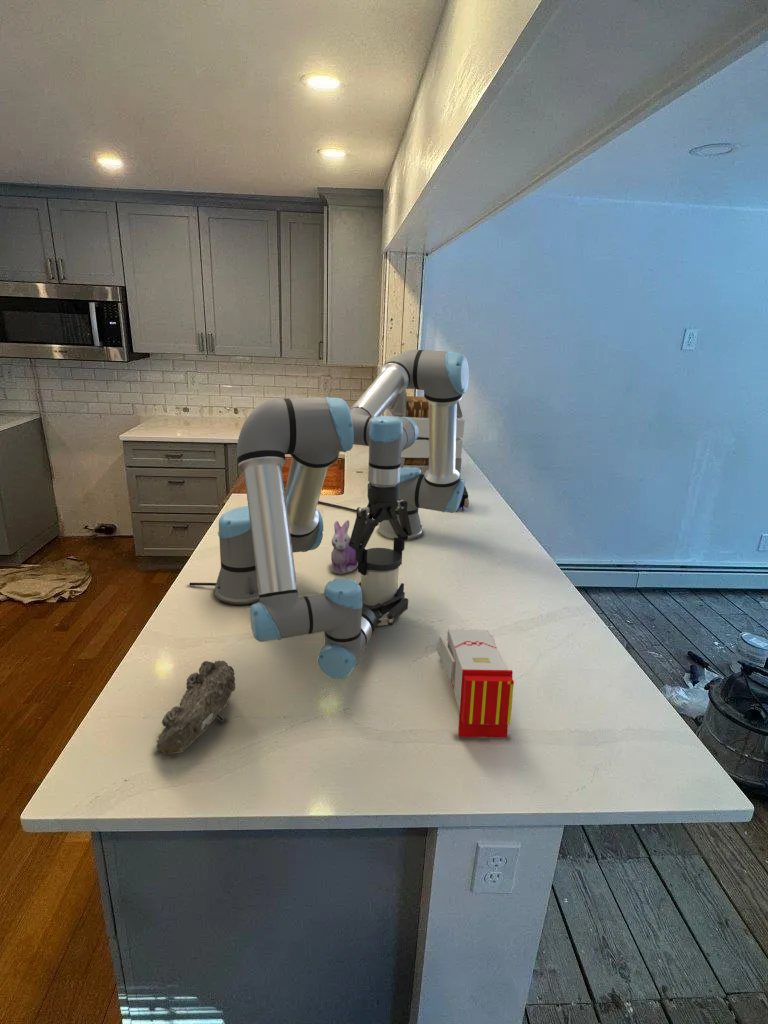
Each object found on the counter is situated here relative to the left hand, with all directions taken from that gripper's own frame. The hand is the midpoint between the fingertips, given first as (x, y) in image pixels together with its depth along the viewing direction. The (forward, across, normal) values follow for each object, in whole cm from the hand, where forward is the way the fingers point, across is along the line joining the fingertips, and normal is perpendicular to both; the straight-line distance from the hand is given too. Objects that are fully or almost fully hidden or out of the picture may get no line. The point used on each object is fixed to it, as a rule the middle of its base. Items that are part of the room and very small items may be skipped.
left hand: (383, 584), depth 148 cm
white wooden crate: (+132, -18, -7) cm, 134 cm away
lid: (-4, 0, +10) cm, 11 cm away
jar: (-4, 0, -7) cm, 8 cm away
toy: (-28, +27, -7) cm, 39 cm away
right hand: (-4, 0, +7) cm, 8 cm away
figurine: (+19, -17, -7) cm, 27 cm away
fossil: (-52, -21, -7) cm, 57 cm away
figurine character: (+89, +7, -7) cm, 90 cm away
